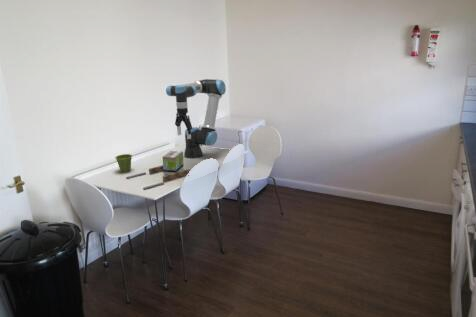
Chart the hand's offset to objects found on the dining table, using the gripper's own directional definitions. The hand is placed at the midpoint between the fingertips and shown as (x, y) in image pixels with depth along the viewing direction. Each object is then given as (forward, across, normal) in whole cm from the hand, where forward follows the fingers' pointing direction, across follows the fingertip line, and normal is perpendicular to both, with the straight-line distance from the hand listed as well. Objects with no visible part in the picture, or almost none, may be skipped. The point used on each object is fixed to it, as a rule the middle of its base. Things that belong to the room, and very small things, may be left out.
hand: (184, 136), depth 253 cm
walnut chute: (+25, +2, -15) cm, 29 cm away
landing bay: (+24, +2, -34) cm, 42 cm away
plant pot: (+25, -26, -36) cm, 51 cm away
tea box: (+25, +2, -11) cm, 27 cm away
